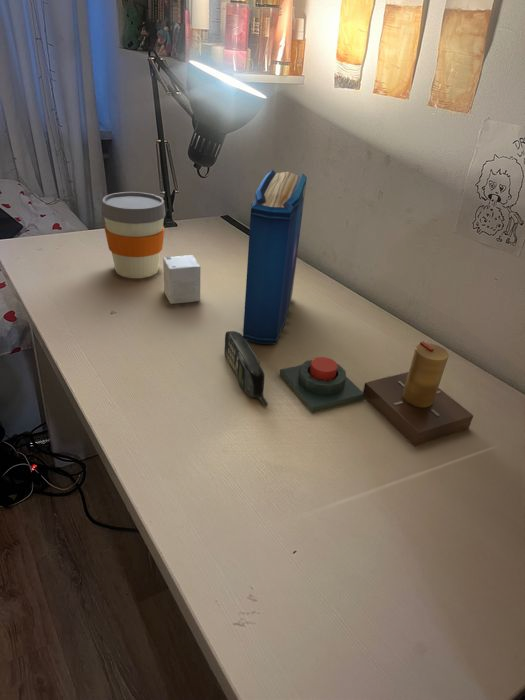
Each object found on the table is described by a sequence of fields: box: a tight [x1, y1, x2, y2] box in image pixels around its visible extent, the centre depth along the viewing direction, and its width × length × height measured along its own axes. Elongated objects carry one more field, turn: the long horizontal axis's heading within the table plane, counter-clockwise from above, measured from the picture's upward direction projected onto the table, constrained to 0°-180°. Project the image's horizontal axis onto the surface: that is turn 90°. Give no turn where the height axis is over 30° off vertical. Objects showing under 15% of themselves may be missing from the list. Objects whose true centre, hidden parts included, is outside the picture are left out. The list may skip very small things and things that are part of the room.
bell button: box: [310, 356, 338, 381], centre depth 76 cm, size 4×4×2 cm
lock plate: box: [362, 371, 474, 447], centre depth 74 cm, size 10×12×3 cm
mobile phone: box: [224, 330, 269, 407], centre depth 76 cm, size 5×3×15 cm
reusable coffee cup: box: [101, 191, 167, 279], centre depth 105 cm, size 12×13×15 cm
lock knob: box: [403, 341, 450, 407], centre depth 71 cm, size 4×4×8 cm
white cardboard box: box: [162, 254, 201, 305], centre depth 98 cm, size 6×6×7 cm
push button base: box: [278, 359, 365, 414], centre depth 77 cm, size 9×10×3 cm
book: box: [242, 169, 308, 345], centre depth 88 cm, size 22×7×25 cm, turn 171°
